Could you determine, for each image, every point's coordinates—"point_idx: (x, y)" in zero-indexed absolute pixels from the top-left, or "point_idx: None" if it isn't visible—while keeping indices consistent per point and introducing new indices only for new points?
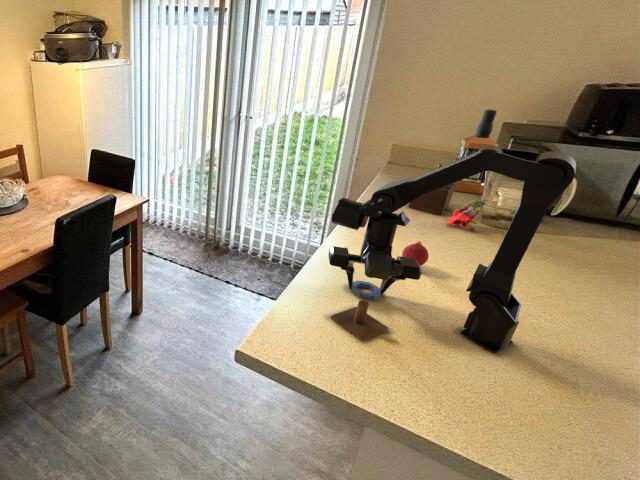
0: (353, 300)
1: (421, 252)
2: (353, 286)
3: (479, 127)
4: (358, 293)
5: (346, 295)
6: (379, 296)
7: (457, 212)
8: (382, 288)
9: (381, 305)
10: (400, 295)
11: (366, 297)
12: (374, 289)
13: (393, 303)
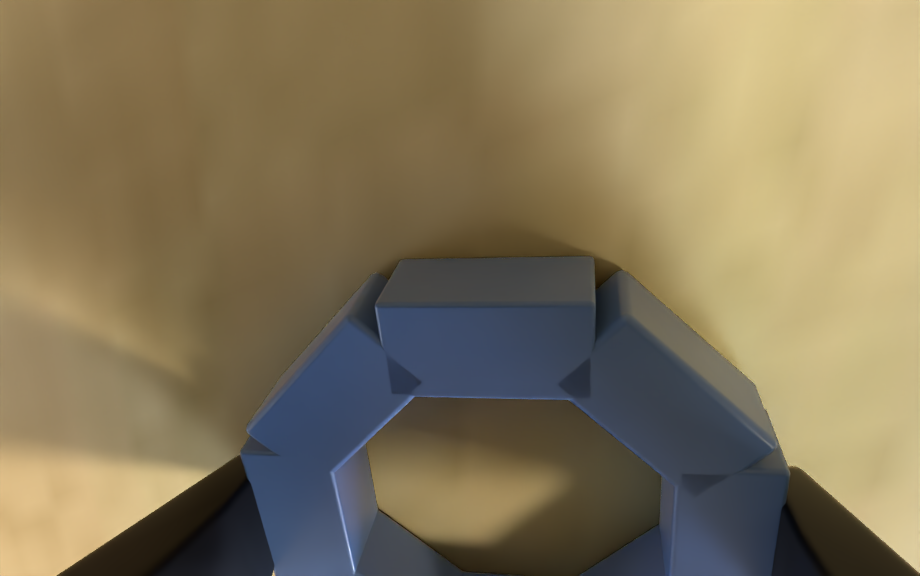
0: (778, 102)
1: None
2: (744, 526)
3: None
4: (664, 329)
5: (900, 251)
6: (276, 387)
7: None
8: (192, 546)
9: (233, 147)
10: (47, 518)
11: (498, 271)
12: (356, 538)
13: (78, 292)
